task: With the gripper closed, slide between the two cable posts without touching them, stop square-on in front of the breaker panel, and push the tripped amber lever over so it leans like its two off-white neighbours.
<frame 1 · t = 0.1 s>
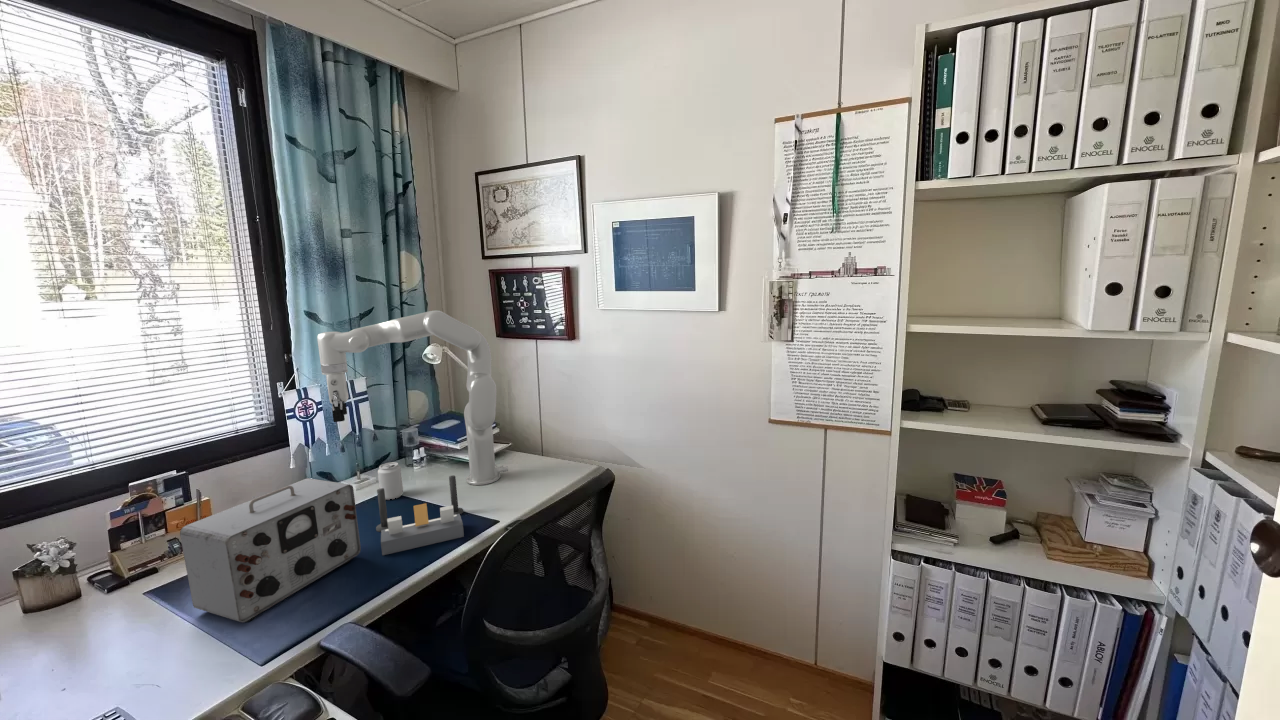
hand: (340, 418, 173), 31 cm above the table, tool pointing down, fingers open, 9 cm apart
lever left: (395, 525, 146), point 7 cm above the table, hinge at -30.0°
can: (392, 496, 184), on the table
lever right: (447, 514, 152), point 7 cm above the table, hinge at -30.0°
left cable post: (385, 528, 159), on the table
breaker panel: (423, 539, 151), on the table
vintage electronic device: (288, 585, 131), on the table
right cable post: (455, 513, 168), on the table
tripped lever: (421, 514, 152), point 7 cm above the table, hinge at 30.0°
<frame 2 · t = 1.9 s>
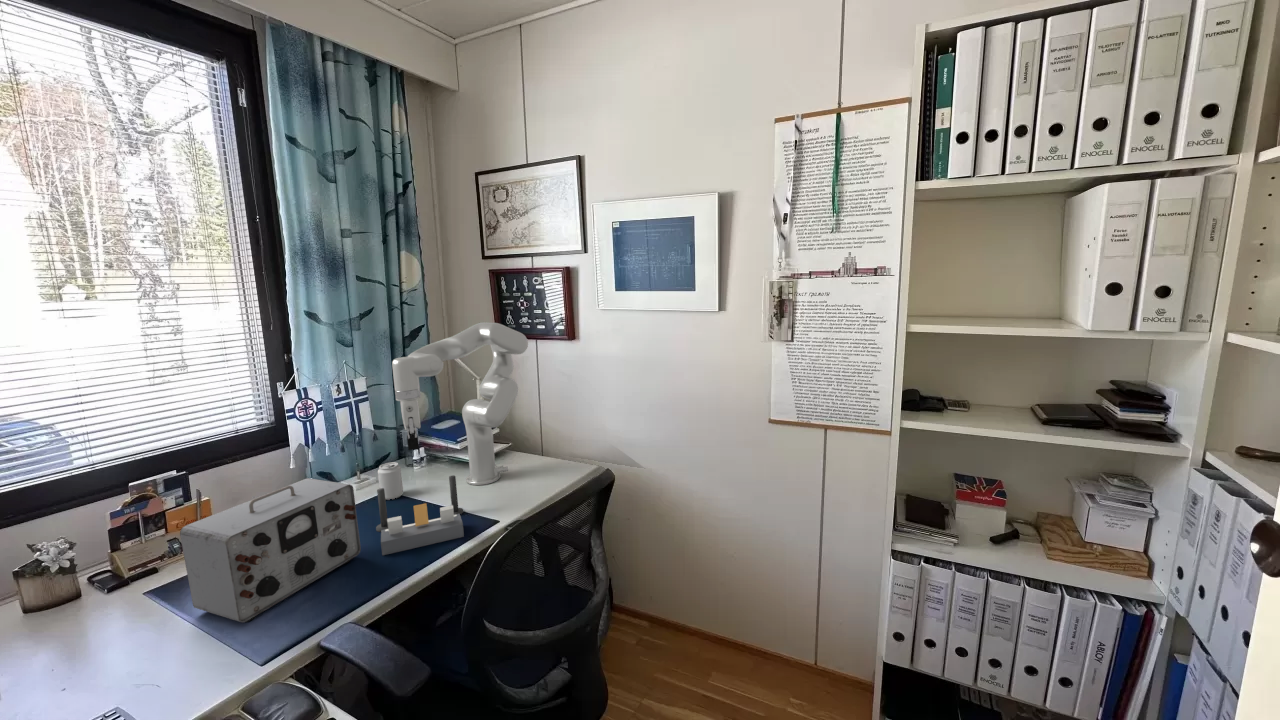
hand: (413, 447, 171), 21 cm above the table, tool pointing down, fingers open, 3 cm apart
nothing on the table moved.
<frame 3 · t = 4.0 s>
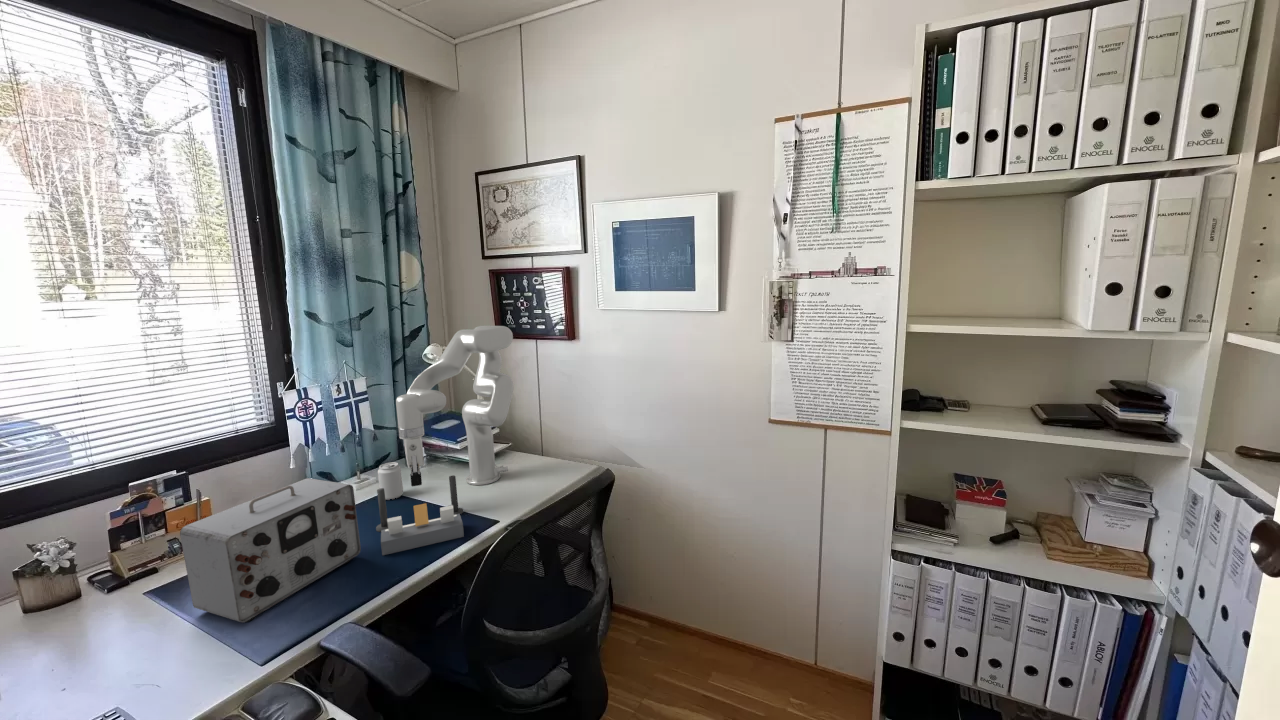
hand: (416, 484, 169), 9 cm above the table, tool pointing down, fingers closed
nothing on the table moved.
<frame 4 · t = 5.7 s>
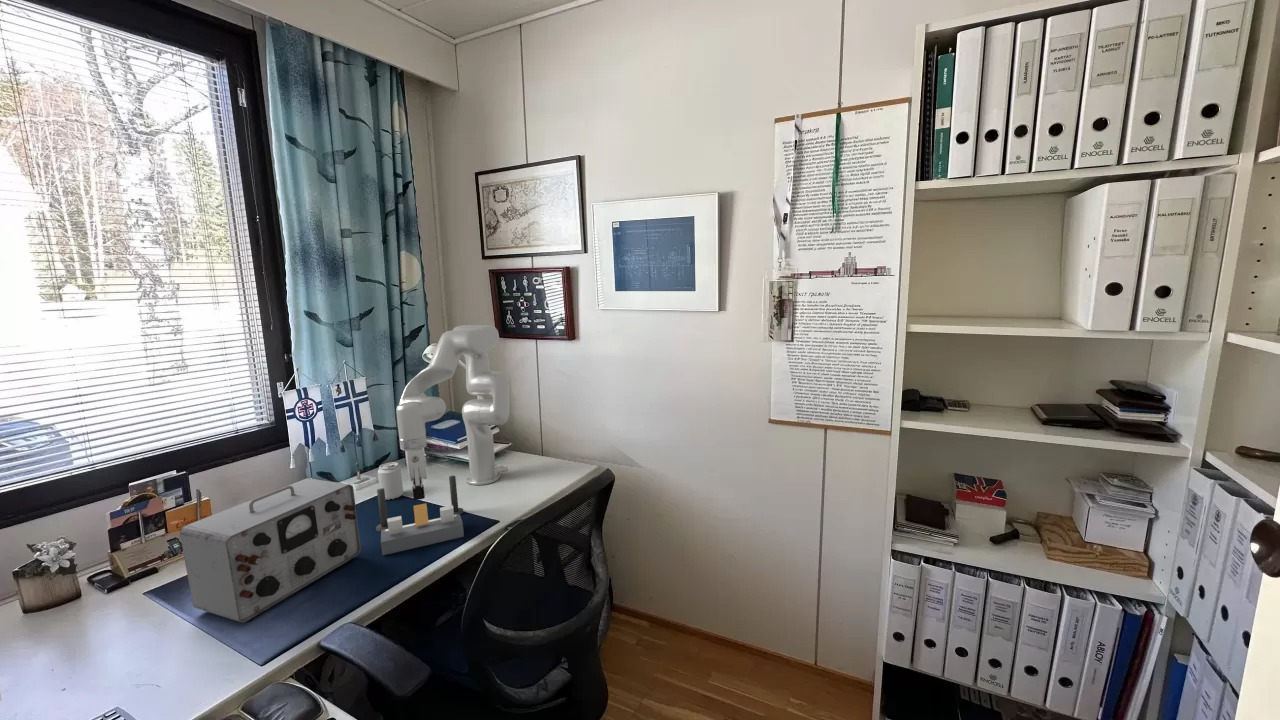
hand: (419, 498, 159), 9 cm above the table, tool pointing down, fingers closed
nothing on the table moved.
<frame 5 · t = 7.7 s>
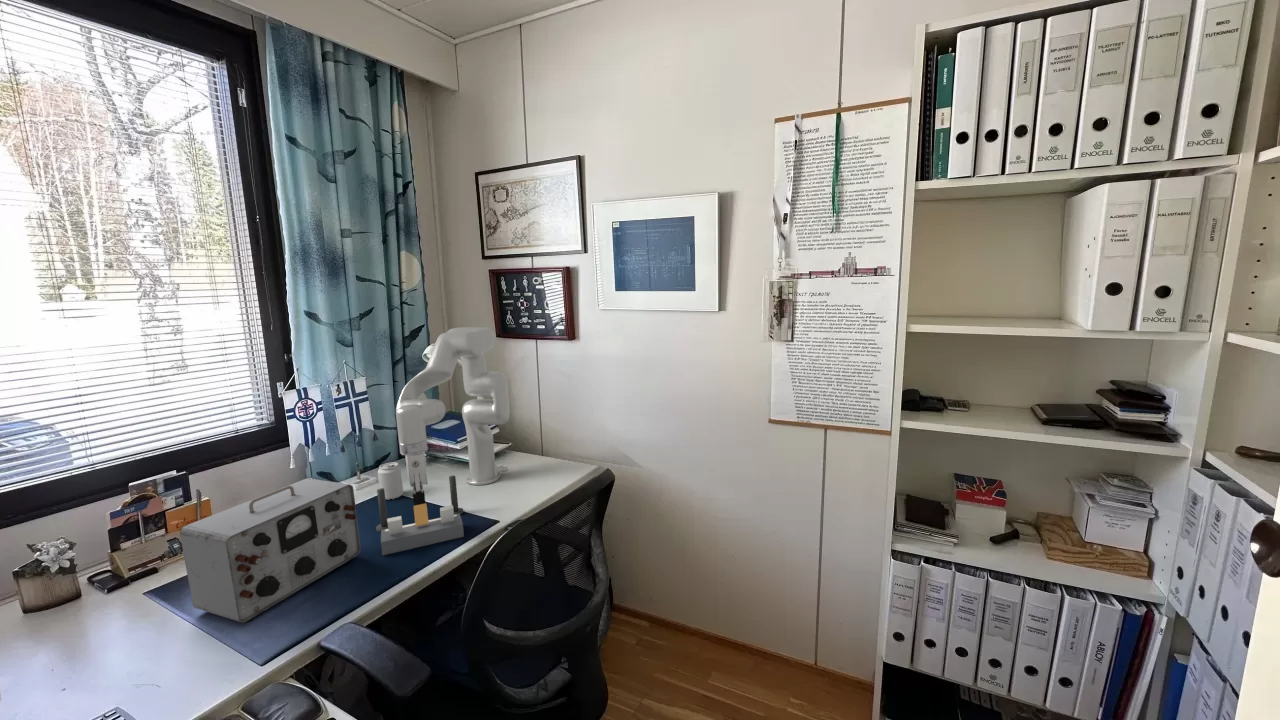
hand: (419, 504, 154), 9 cm above the table, tool pointing down, fingers closed
tripped lever: (421, 514, 152), point 7 cm above the table, hinge at 29.6°, touching gripper
everything else where it was.
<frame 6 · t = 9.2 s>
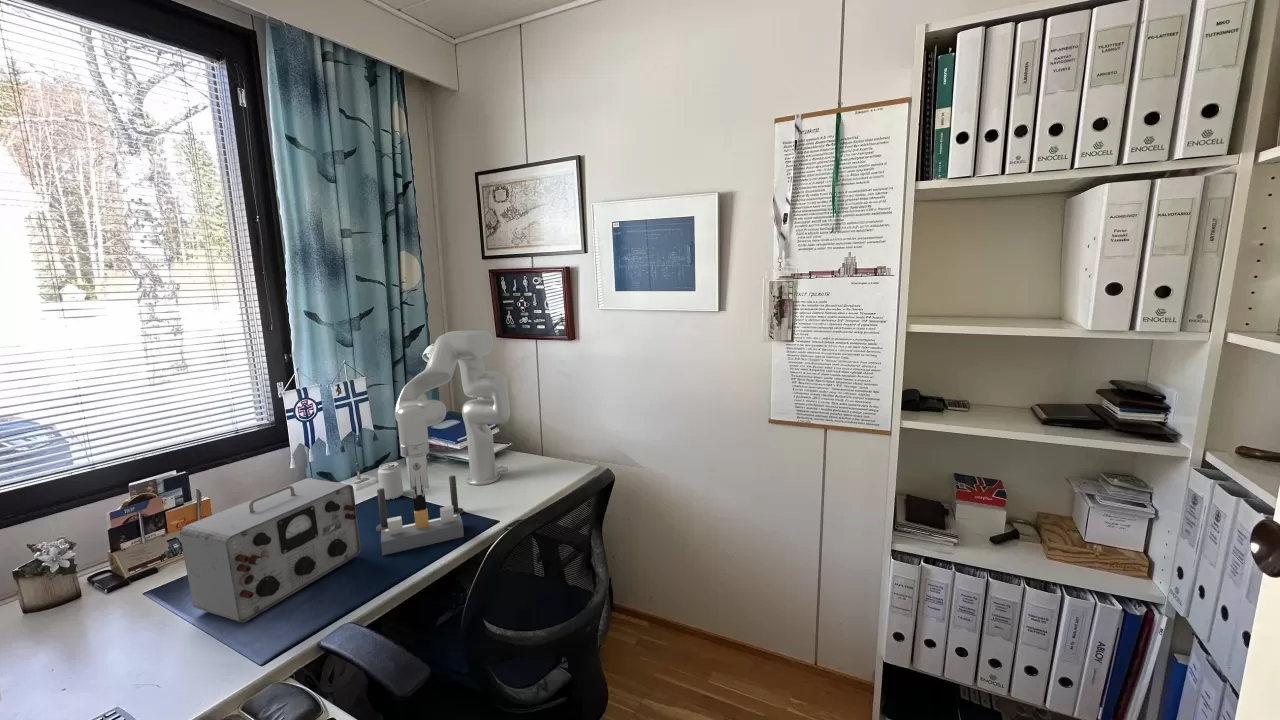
hand: (420, 509, 148), 10 cm above the table, tool pointing down, fingers closed
tripped lever: (421, 518, 149), point 7 cm above the table, hinge at -20.3°, touching gripper
everything else where it was.
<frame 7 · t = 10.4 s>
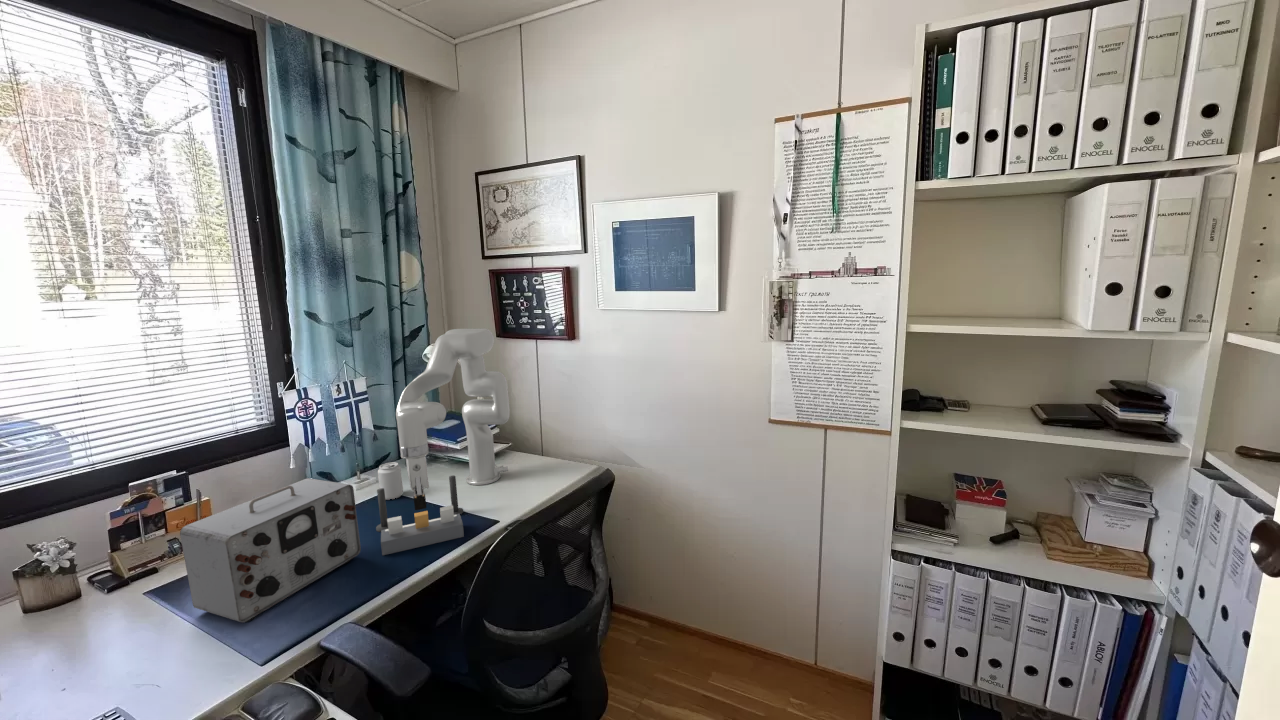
hand: (420, 508, 153), 9 cm above the table, tool pointing down, fingers closed
tripped lever: (421, 519, 149), point 7 cm above the table, hinge at -30.7°
everything else where it was.
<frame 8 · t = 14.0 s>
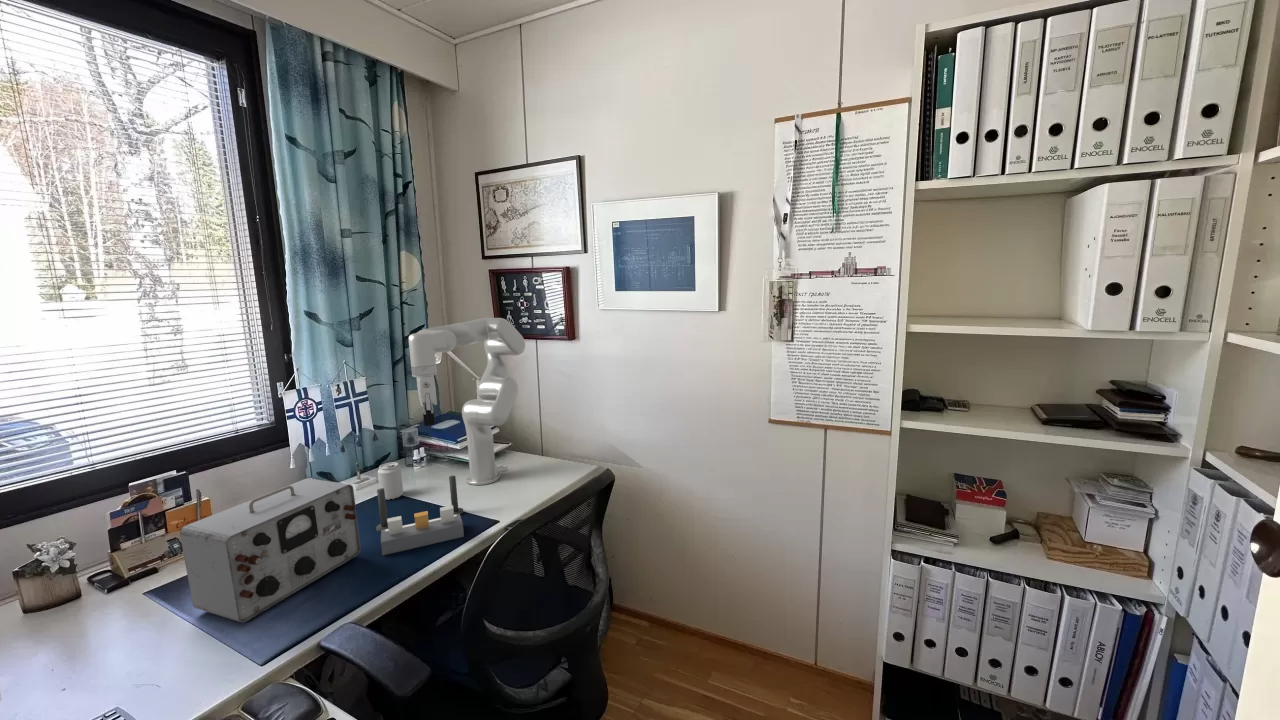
hand: (429, 424, 169), 29 cm above the table, tool pointing down, fingers closed
tripped lever: (421, 520, 149), point 7 cm above the table, hinge at -31.6°
everything else where it was.
at the end: tripped lever at -32° (first picture: +30°); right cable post moved 0.0 cm from its start; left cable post moved 0.0 cm from its start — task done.
